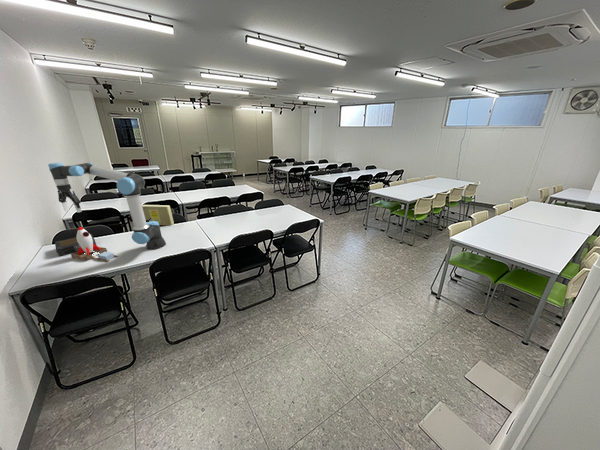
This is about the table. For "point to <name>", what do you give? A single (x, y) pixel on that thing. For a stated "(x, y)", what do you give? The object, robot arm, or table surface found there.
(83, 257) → the tray
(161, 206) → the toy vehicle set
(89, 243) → the rocket
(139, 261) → the table surface
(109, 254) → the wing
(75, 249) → the cash box
